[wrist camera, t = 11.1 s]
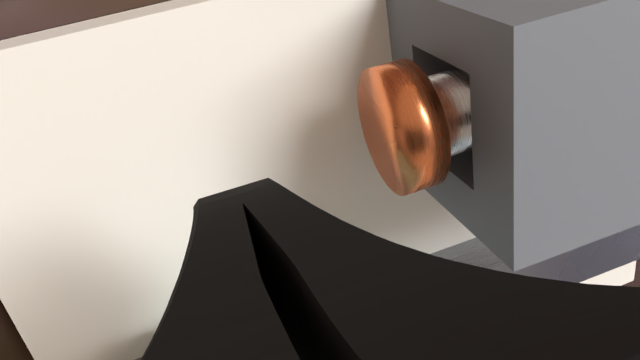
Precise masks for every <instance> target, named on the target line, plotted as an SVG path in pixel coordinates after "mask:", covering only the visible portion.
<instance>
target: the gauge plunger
mask: <svg viewBox="0 0 640 360" xmlns="http://www.w3.org/2000/svg"><path fill="white" fill-rule="evenodd" d="M358 109H359V116H360V121H361V126H362V130H363V134H364V138H365V141H366V144H367V147H368V150H369V152H370V155H371V157H372V160H373V162H374V164H375V166H376V168H377V170H378V172H379V174H380V176H381V177H382V179H383V180H384V182H385V183H386V185H387V186H388V187H389V188H390V189H391V190H392V191H393V192H394V193H396V194H397V195H399V196H406V195H409V194H412V193H415V192H418V191H421V190H424V189H427V188H430V187H433V186H436V185H439V184H441V183H442V182H444V180H445V179H446V177H447V175H448V172H449V169H450V162H451V156H453V155H456V154H459V153H462V152H465V151H468V150H471V149H472V129H471V103H470V78H469V73H467V72H465V71H463V70H461V69H459V68H454V69H451V70H447V71H444V72H440V73H437V74H433V75H430V76H427V75H426V74H425V72H424V71H423V70H422V69H421V67H419V66H418V65H417V64H416V63H415V62H413V61H412V60H409V59H405V58H404V59H399V60H396V61H392V62H389V63H385V64H381V65H378V66H374V67H371V68H367V69H365V70H364V71H363V72H362V73H361V75H360V78H359V82H358Z"/></svg>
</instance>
